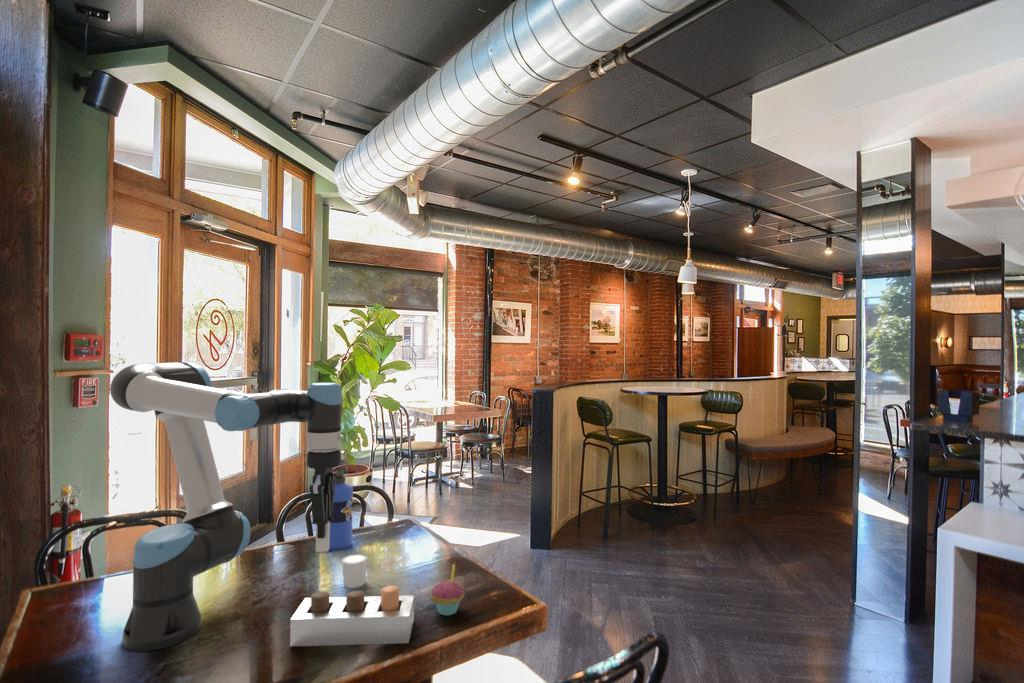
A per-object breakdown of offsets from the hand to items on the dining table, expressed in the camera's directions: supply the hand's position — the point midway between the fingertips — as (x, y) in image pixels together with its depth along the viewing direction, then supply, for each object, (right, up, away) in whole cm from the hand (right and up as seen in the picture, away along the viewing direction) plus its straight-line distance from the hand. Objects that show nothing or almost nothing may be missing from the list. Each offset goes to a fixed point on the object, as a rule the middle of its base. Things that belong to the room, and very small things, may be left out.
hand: (322, 550), depth 123 cm
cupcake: (+28, -20, +10) cm, 36 cm away
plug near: (0, -17, -1) cm, 17 cm away
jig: (+8, -19, 0) cm, 21 cm away
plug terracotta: (+16, -16, 0) cm, 23 cm away
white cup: (0, -20, +25) cm, 32 cm away
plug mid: (+8, -17, 0) cm, 19 cm away
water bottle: (-14, -20, +53) cm, 58 cm away
